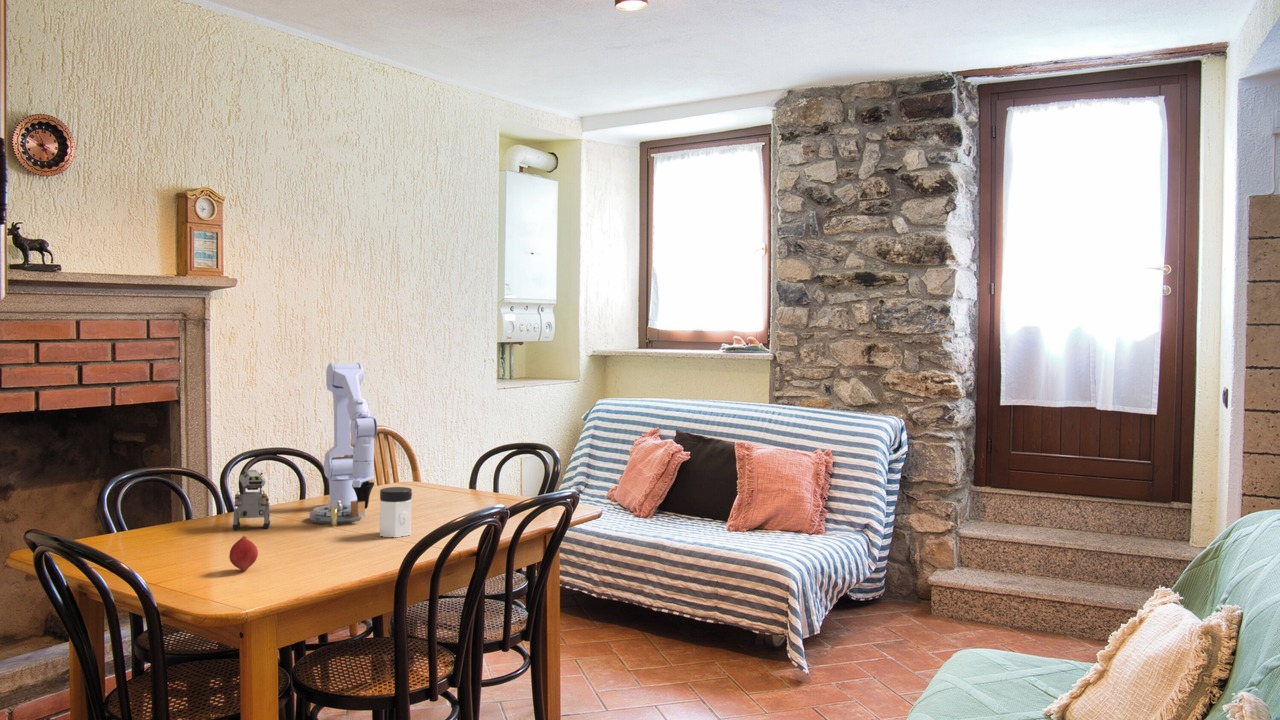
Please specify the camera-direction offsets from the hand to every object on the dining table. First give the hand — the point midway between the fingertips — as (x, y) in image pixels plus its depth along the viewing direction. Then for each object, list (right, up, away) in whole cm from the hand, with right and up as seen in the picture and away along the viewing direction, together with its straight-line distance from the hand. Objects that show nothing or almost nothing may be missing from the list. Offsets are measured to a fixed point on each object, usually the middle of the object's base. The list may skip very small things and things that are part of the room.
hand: (363, 508), depth 257 cm
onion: (-10, -5, -54) cm, 55 cm away
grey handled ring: (-6, -1, +1) cm, 7 cm away
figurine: (-28, -4, -8) cm, 29 cm away
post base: (-9, -4, +2) cm, 10 cm away
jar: (+13, -5, -15) cm, 20 cm away
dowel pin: (-6, -4, -6) cm, 9 cm away
